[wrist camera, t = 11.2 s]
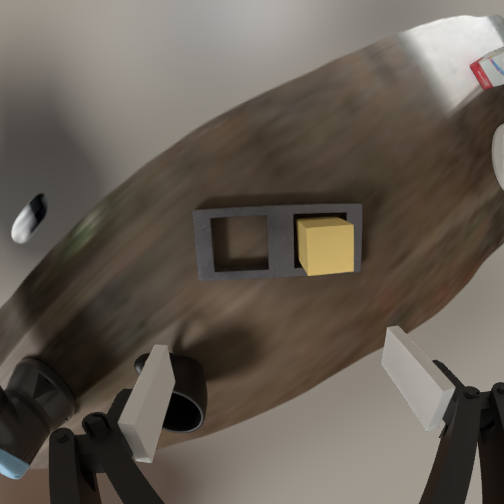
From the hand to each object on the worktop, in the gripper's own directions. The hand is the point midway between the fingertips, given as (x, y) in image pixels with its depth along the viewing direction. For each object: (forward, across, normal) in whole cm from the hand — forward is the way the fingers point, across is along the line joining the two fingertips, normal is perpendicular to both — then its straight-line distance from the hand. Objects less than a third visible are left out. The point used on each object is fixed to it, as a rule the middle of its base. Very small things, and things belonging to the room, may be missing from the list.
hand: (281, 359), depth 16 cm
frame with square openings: (+22, +2, +3) cm, 22 cm away
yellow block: (+21, +7, +3) cm, 23 cm away
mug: (+22, -13, -15) cm, 29 cm away
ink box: (+21, +40, +30) cm, 54 cm away
